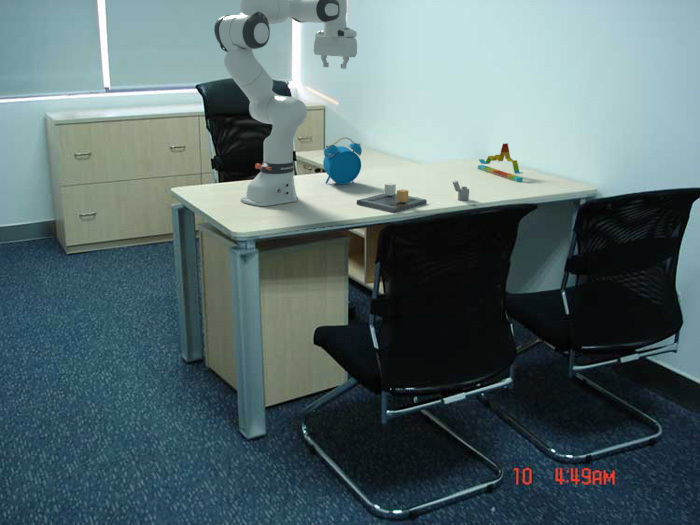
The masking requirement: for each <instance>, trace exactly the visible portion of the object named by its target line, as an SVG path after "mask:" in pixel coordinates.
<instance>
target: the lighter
mask: <svg viewBox="0 0 700 525" xmlns="http://www.w3.org/2000/svg"><path fill="white" fill-rule="evenodd" d="M452 184H453V187H454V190H455V192H457V193H458V194H457V201H459V202H464V201H469V200H470V188H468V187H467V186H461V187H460V184H459V181H458V180H453V181H452Z"/></svg>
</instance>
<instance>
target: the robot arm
mask: <svg viewBox="0 0 700 525" xmlns="http://www.w3.org/2000/svg"><path fill="white" fill-rule="evenodd" d="M347 5H348V3H347V0H241V1H240V6H239V7H240V13H239V14H233V15H232V14H227V15H224V16H220V17H219V18H218V19H217V20H216V22H215V23H214V28H213V30H214V36H215V39H216V40H217V42H218V43H219V47H220V48H221V50H223V52H226V54H225V56H224V59H223V60H224V61H223V62H224V63H223V64H224V66H225V69H226V70H227V73H229V75H230V77H231V78H232V80H233V81H234V82H235V84H236V85H237V86H238V87H239V88H240V90H241V91H242V92H243V94H244V95H245V96H246V97H247V99H248V100H249V106H248V111H249V115H250V116H251V118H252V119H254V120H256V121H258V122H261V123H262V124H268V125H269V124H270V125H272V126H271V128H272V129H271V132H270V134H269V136H267V137H266V138H265V139H264V140H263V161H262V163H258V162H257V163H255V166H254V168H255V169H258V170H260V171H259V173H258V174H257V175H256V176H255V177H254V178H253V180H251V181H250V182H249V183H248V185H247V187H246V195H244V196H241V197H240V202H242V203H244V204H247V205H252V206H256V207H257V206H258V207H268V206H275V205H281V204H288V203H294V202H297V201H298V195H297V191H296V186H295V178H294V170H295V162H294V160H293V158H294V157H293V156H294V155H293V154H294V153H293V152H294V150H293V149H294V140H295V136H296V132H297V130H298V129H299V128H300V126H301V125H303V124H304V122H305V121H306V119H307V117H308V110H307V107H306V104H305V102H303V101H302V100H300V99H298V98H296V97H293V96H285V95H280V94H278V93H276V92H275V91H273V87H274V80H273V78H272V77H271V76H270V73H268V72H267V70H266V69H265V68H264V67H263V65H262V64H261V63H260V62H259V60H258V59H257V58H256V57H255V55H254V52H253V50H256V49H261V48H263V47H265V46H267V44H268V42H269V39H270V36H271V33H270V32H271V28H270V25H276V24H281V23H284V22H286V21H287V19H288V18H291V19H292V20H294V21H295V22H297V23H299V24H303V23H316V24H317V23H320V24H321V23H323V30H318V31H317V32H316V33H315V36H314V42H313V43H314V44H313V53H314V55H316V56H320V59H321V62H322V67H323V68H329V64H330V63H329V62H328V61H327V58H328V57H342V60H343V62H342V63H341V64H340V69H341V70H346V69H347V64H348V62H349V61H350V58H355V57H356V56H357V55H358V40H357V39H356V37H357V35H358V34H357V31H356V30H353V29H351V28H349V26H347V20H346V19H347V17H346V16H347V12H348V10H347V8H348V6H347Z"/></svg>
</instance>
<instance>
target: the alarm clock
mask: <svg viewBox="0 0 700 525" xmlns="http://www.w3.org/2000/svg"><path fill="white" fill-rule="evenodd" d="M344 139H346V140H349V141H351V143H350V144H348V147H349V148H348V147H346V146H337V145H336V144H337V143H338V142H340V141H341V140H344ZM361 155H362V147H361V143H360V142H359V143H358V142H354V140H352V139H351V138H349V137H345V136H344V137H341V138H339V139H337V140H336V141H335V142H334V143H331V144H327V145H326V146H325V147H324V148H323V156H324V158H323V160H322V161H323V163H322V164H323V165H322V166H323V169H324V171H325V173H326V174H327V175H328V177H327V179H326V180H325V184H328V182H329V180H330V179H331V180H332V181H333V182H335V183H336V184H338V185H348V184H349V183H351V182H352V183H353V182H354V180H355V179H356V178H357V177H358V176H359V174H360V173H361V169H362V162H361V158H360V156H361Z"/></svg>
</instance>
